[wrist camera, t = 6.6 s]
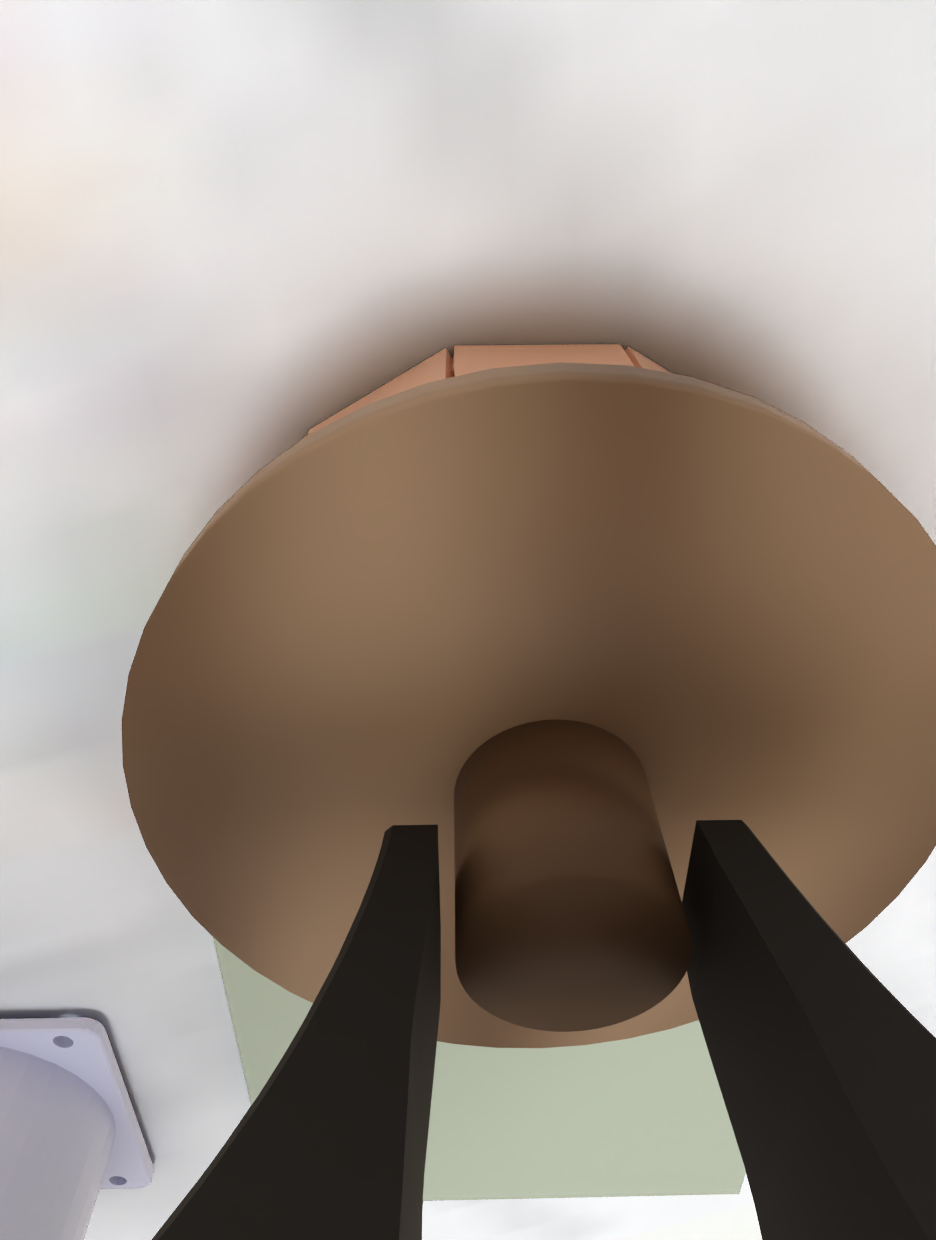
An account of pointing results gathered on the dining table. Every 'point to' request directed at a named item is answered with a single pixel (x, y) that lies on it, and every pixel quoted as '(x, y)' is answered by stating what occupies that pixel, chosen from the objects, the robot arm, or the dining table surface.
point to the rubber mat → (539, 1108)
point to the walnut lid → (539, 687)
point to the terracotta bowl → (496, 365)
